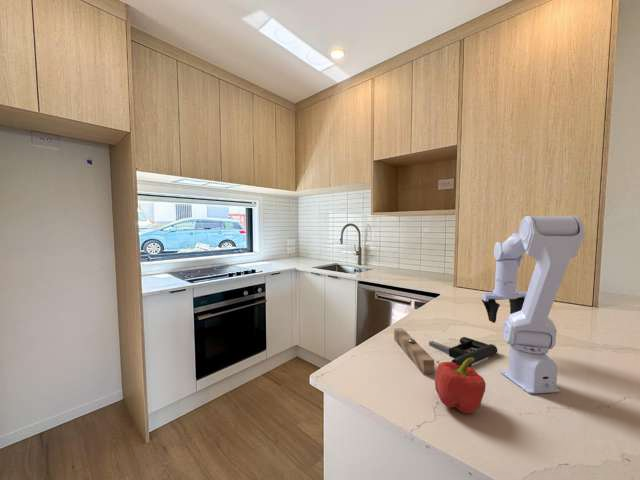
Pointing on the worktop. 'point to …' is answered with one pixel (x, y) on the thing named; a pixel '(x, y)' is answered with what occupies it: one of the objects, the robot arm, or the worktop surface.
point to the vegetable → (459, 386)
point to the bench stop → (414, 351)
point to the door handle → (461, 354)
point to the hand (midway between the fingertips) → (503, 320)
